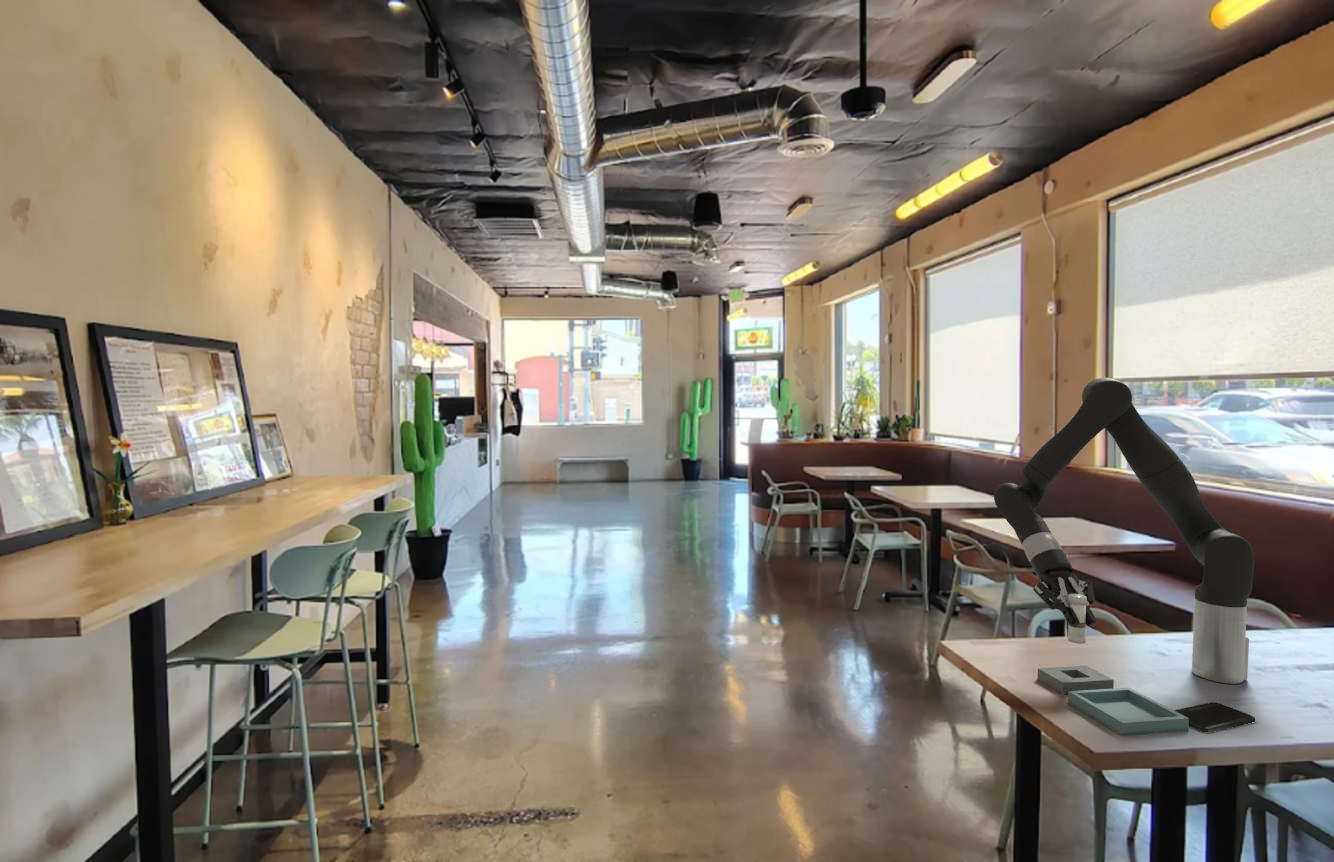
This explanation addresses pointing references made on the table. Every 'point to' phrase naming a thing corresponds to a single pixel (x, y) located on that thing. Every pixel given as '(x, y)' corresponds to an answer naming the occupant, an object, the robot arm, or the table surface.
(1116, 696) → the parts tray
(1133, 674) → the table surface
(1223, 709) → the phone
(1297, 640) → the table surface
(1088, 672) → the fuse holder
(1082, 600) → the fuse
